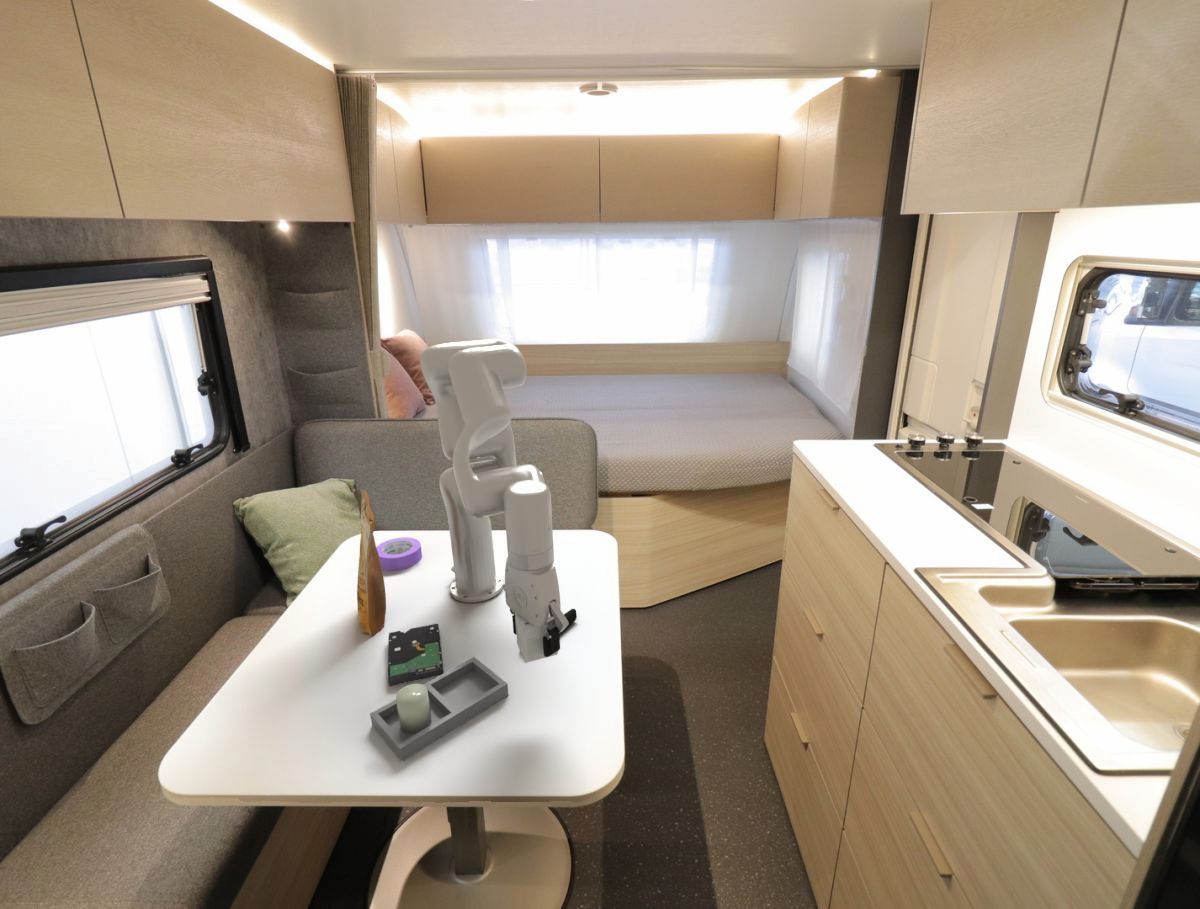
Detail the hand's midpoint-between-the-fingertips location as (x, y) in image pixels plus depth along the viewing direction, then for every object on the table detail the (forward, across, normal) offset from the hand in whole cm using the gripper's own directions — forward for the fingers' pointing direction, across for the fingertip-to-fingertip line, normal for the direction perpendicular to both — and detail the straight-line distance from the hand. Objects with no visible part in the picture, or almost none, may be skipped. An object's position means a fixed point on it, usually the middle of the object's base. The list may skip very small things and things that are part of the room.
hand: (536, 641), depth 106 cm
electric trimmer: (+13, -13, +13) cm, 22 cm away
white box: (+2, 0, 0) cm, 2 cm away
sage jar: (+12, -10, -19) cm, 25 cm away
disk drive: (+14, -27, -10) cm, 32 cm away
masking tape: (+15, -68, +7) cm, 70 cm away
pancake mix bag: (+14, -47, -9) cm, 50 cm away
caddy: (+12, -10, -14) cm, 21 cm away
